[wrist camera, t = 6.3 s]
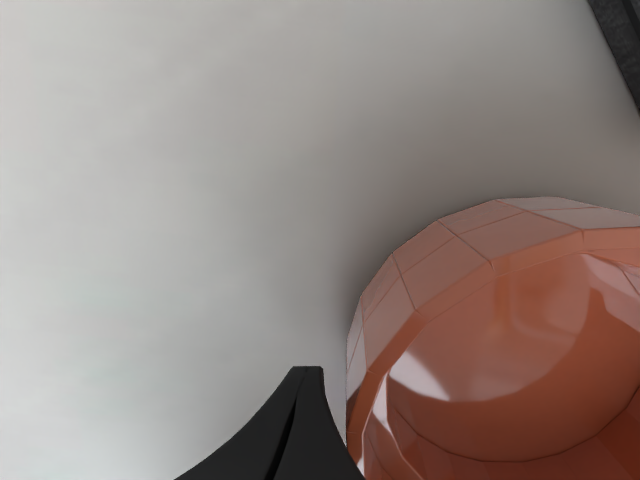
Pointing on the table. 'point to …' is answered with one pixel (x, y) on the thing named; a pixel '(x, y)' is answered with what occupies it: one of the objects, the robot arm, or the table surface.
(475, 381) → the bowl
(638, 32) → the phone
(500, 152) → the table surface
